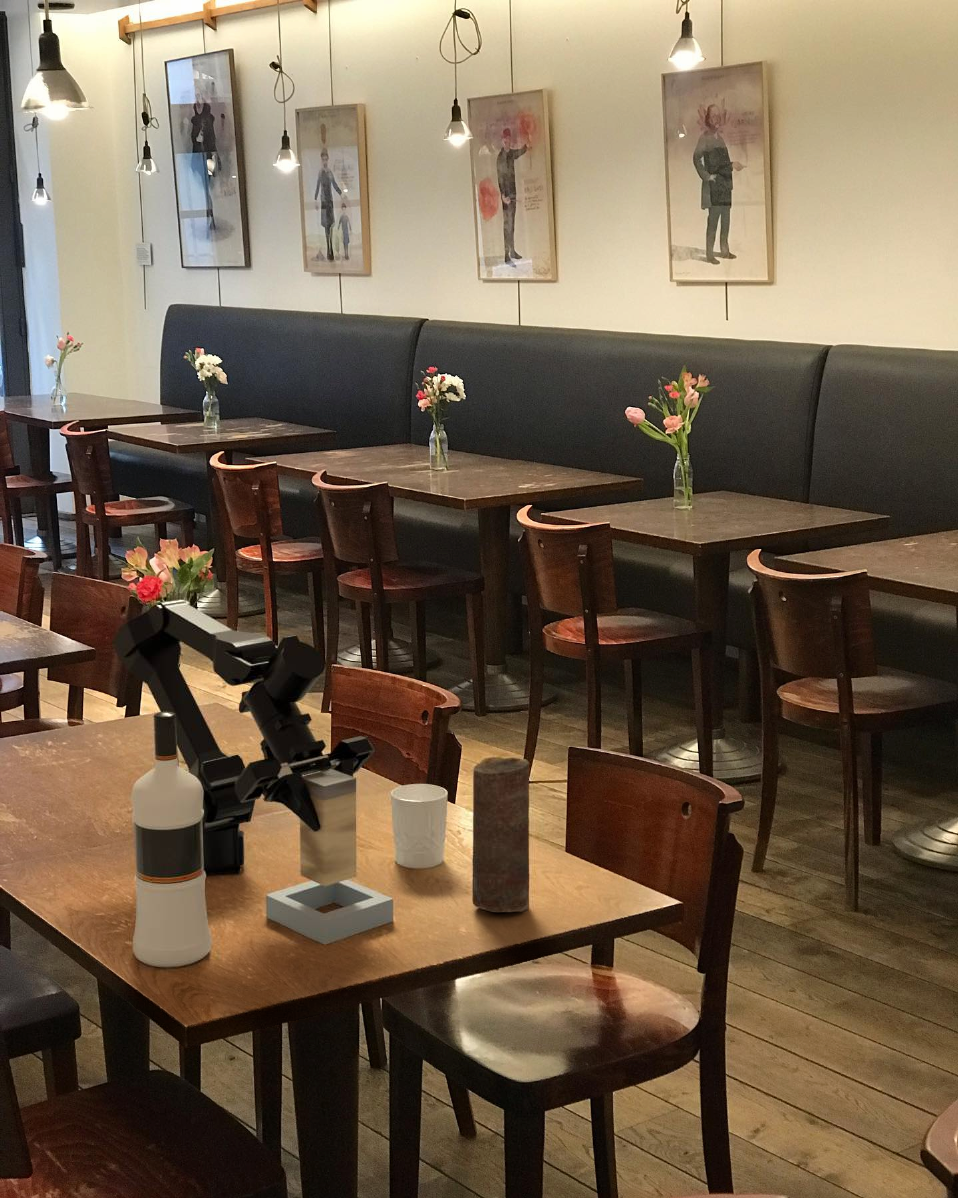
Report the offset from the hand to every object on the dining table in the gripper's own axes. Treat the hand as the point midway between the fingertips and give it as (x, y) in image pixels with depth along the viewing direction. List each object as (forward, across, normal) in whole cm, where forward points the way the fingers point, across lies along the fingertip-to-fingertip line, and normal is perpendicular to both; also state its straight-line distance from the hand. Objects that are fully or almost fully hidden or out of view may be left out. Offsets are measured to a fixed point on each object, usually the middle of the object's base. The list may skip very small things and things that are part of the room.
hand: (335, 825), depth 200 cm
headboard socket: (+8, 0, -10) cm, 13 cm away
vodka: (+5, +21, -13) cm, 25 cm away
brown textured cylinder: (+17, -18, -1) cm, 25 cm away
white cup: (+3, -22, -16) cm, 28 cm away
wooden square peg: (+4, 0, -6) cm, 7 cm away
